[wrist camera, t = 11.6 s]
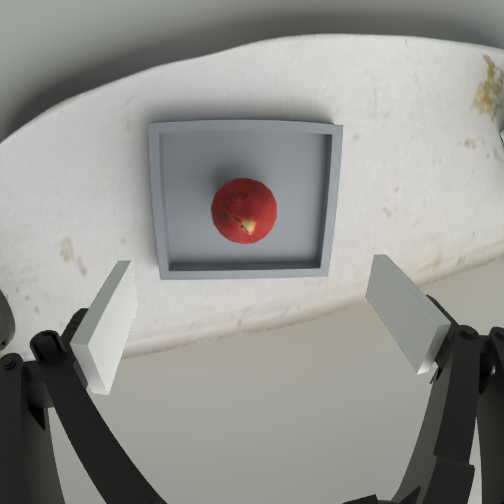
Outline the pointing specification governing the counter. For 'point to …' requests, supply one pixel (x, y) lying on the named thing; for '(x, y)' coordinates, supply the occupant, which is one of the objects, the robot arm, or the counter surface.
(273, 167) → the tray
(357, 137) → the counter surface
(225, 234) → the onion
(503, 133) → the tea box
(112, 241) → the counter surface
